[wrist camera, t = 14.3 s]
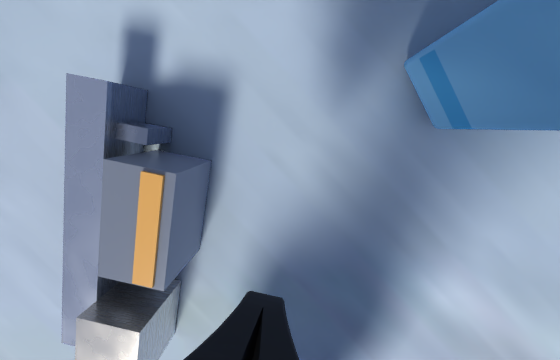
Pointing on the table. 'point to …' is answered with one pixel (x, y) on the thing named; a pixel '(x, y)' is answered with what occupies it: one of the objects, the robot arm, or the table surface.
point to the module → (151, 216)
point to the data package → (494, 70)
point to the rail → (86, 229)
